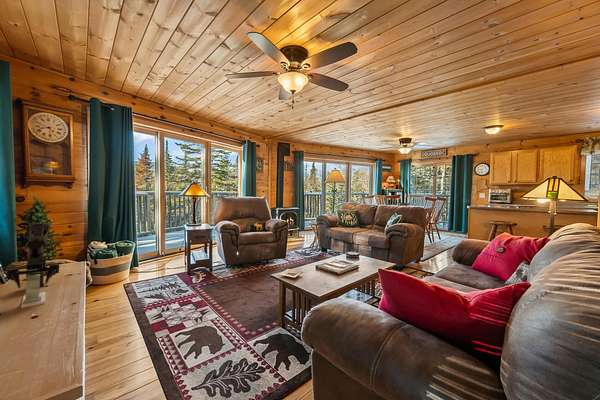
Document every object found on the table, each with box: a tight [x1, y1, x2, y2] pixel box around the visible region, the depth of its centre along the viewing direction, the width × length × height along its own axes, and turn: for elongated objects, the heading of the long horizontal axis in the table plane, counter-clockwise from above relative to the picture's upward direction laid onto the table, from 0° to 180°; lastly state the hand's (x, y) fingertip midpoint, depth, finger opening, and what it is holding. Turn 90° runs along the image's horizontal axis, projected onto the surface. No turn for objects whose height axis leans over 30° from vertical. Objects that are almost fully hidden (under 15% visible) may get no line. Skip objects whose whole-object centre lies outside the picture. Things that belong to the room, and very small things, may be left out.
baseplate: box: [20, 291, 47, 309], centre depth 128 cm, size 16×8×1 cm, turn 45°
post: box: [25, 274, 41, 303], centre depth 125 cm, size 4×4×12 cm
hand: (32, 286), depth 125 cm, fingers open, 9 cm apart
